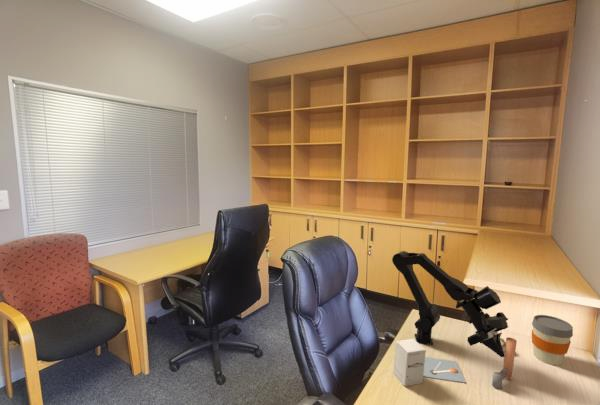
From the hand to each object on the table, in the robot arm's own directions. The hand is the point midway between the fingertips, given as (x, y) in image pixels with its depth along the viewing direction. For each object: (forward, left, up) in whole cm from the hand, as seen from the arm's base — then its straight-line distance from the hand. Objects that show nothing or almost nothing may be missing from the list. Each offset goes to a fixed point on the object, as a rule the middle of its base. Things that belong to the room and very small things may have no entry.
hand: (503, 356), depth 116 cm
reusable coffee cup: (-16, +23, -7) cm, 28 cm away
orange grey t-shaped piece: (+4, -1, -7) cm, 8 cm away
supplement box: (+9, -33, -7) cm, 35 cm away
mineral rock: (-19, +7, -8) cm, 22 cm away
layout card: (+1, -21, -7) cm, 22 cm away
